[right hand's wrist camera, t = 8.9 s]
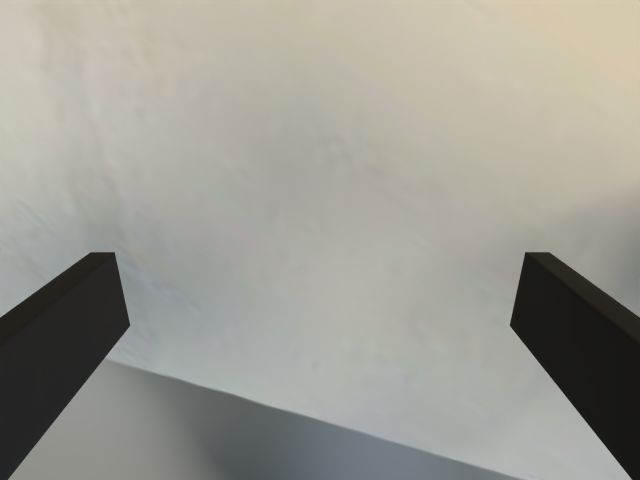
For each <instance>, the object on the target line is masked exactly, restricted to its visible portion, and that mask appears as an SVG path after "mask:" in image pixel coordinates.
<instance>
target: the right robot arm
mask: <svg viewBox="0 0 640 480" xmlns="http://www.w3.org/2000/svg"><path fill="white" fill-rule="evenodd" d="M129 326H130V322H129V318H128V313H127V308H126V304H125V299H124V294H123V289H122V285H121V280H120V275H119V271H118V266H117V261H116V257H115V252H91V253H89V254H88V255H86V256H85V257H84V258H82V259H81V260H79V261H78V262H77V263H75V264H74V265H73V266H71V267H70V268H68V269H67V270H66V271H64V272H63V273H61V274H60V275H59V276H57V277H56V278H55V279H53V280H52V281H50V282H49V283H48V284H46V285H45V286H43V287H42V288H41V289H39V290H38V291H37V292H35V293H34V294H32V295H31V296H30V297H28V298H27V299H25V300H24V301H23V302H21V303H20V304H19V305H17V306H16V307H14V308H13V309H12V310H10V311H9V312H7V313H6V314H5V315H3V316H2V317H1V318H0V480H8V479H9V478H10V476H11V475H12V474H13V472H14V471H15V470H16V469H17V467H18V466H19V465H20V464H21V462H22V461H23V460H24V459H25V457H26V456H27V455H28V454H29V452H30V451H31V450H32V449H33V447H34V446H35V445H36V443H37V442H38V441H39V440H40V438H41V437H42V436H43V435H44V433H45V432H46V431H47V430H48V428H49V427H50V426H51V425H52V423H53V422H54V421H55V420H56V418H57V417H58V416H59V415H60V413H61V412H62V411H63V410H64V408H65V407H66V406H67V405H68V403H69V402H70V401H71V399H72V398H73V397H74V396H75V394H76V393H77V392H78V391H79V389H80V388H81V387H82V386H83V384H84V383H85V382H86V381H87V379H88V378H89V377H90V376H91V374H92V373H93V372H94V371H95V369H96V368H97V367H98V365H99V364H100V363H101V362H102V360H103V359H104V358H105V357H106V355H107V354H108V353H109V352H110V350H111V349H112V348H113V347H114V345H115V344H116V343H117V342H118V340H119V339H120V338H121V337H122V335H123V334H124V333H125V332H126V330H127V329H128V328H129ZM510 326H511V328H512V329H513V330H514V332H515V333H516V334H517V335H518V337H519V338H520V339H521V340H522V342H523V343H524V344H525V345H526V347H527V348H528V349H529V350H530V352H531V353H532V354H533V355H534V357H535V358H536V359H537V360H538V362H539V363H540V364H541V365H542V367H543V368H544V369H545V371H546V372H547V373H548V374H549V376H550V377H551V378H552V379H553V381H554V382H555V383H556V384H557V386H558V387H559V388H560V389H561V391H562V392H563V393H564V394H565V396H566V397H567V398H568V399H569V401H570V402H571V403H572V405H573V406H574V407H575V408H576V410H577V411H578V412H579V413H580V415H581V416H582V417H583V418H584V420H585V421H586V422H587V423H588V425H589V426H590V427H591V428H592V430H593V431H594V432H595V433H596V435H597V436H598V437H599V438H600V440H601V441H602V442H603V444H604V445H605V446H606V447H607V449H608V450H609V451H610V452H611V454H612V455H613V456H614V457H615V459H616V460H617V461H618V462H619V464H620V465H621V466H622V467H623V469H624V470H625V471H626V472H627V474H628V475H629V476H630V478H631V479H632V480H640V318H639V317H638V316H637V315H635V314H634V313H633V312H631V311H630V310H628V309H627V308H626V307H624V306H623V305H621V304H620V303H619V302H617V301H616V300H615V299H613V298H612V297H610V296H609V295H608V294H606V293H605V292H603V291H602V290H601V289H599V288H598V287H597V286H595V285H594V284H592V283H591V282H590V281H588V280H587V279H585V278H584V277H583V276H581V275H580V274H579V273H577V272H576V271H574V270H573V269H572V268H570V267H569V266H567V265H566V264H565V263H563V262H562V261H561V260H559V259H558V258H556V257H555V256H554V255H552V254H551V253H549V252H525V257H524V261H523V266H522V271H521V275H520V280H519V285H518V289H517V294H516V299H515V304H514V308H513V313H512V318H511V322H510Z"/></svg>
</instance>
